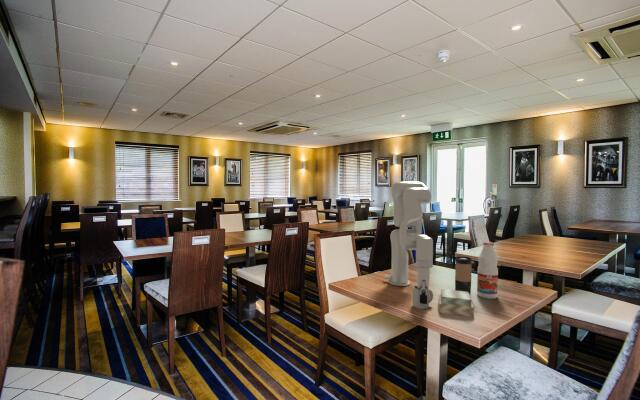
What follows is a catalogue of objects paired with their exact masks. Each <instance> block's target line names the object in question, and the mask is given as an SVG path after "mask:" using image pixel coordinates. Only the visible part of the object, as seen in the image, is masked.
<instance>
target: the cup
mask: <svg viewBox="0 0 640 400" xmlns="http://www.w3.org/2000/svg"><path fill="white" fill-rule="evenodd" d="M417 285H418V284H416V285H413V287H412V306H413V308H416V309H419V310H425V309H426V310H427V309H428V308H429V307H430V304H431V302H432V301H433V299H434V294H433V293H434V292H433V290H432V289H430V288H429V287H430V286H429V287H428V289H427V304H421V303H420V292H421V289H420V288H421V287H420V288H419V289H418V288H417ZM425 288H426V287H425ZM425 291H426V290H425ZM425 294H426V293H425Z"/></svg>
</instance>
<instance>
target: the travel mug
mask: <svg viewBox="0 0 640 400" xmlns="http://www.w3.org/2000/svg"><path fill="white" fill-rule="evenodd" d="M472 260H473V259H472V258H471V257H469V256H456V257H455V269H454V270H455V272H454V273H455V276H454V290H456V291H466V292H469V295H470V296H471V294H472V292H471V291H472V263H473V262H472Z"/></svg>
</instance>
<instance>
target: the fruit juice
mask: <svg viewBox="0 0 640 400" xmlns="http://www.w3.org/2000/svg"><path fill="white" fill-rule="evenodd" d="M494 246H495V245H494V242H492V241H483V242H482V250H481V252H480V253H479V255H478V258H477V260H478V266H477V277H476V278H477V280H476V281H477V282H476V295H477V296H478V297H480V298H484V299H489V300H492V299H497V298H498V289H499V288H498V287H499V286H498V281H499V270H498V267H497V266H498V262H499V260H498V256H497V255H496V253H495V249H494Z"/></svg>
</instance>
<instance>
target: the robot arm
mask: <svg viewBox="0 0 640 400" xmlns="http://www.w3.org/2000/svg"><path fill="white" fill-rule="evenodd" d="M390 193H391V197H392V200H393V225H394V226H395V227H398V229H394V230H392V231H391V233H390V234H389V236H390V237H389V238H390V243H391V244H390V245H391V272H390V274H383V279H387V280H388V284H390V285H392V286H399V287H407V286H410V285H411V284H412V283H411V281H410V280H409V252H408V251H415V267H417V284H416V285H417V288H418V289H419V288H420V287H421V288H420V289H421V292H420V303H421V304H427V289H428V287H430V278H431V277H430V274H431V269H432V268H434V267H433V266H434V263H433V260H434V259H433V257H434V240H433V238H432V237H430V236H428V235H427V234H422V233H423V231H422V226H423V225H422V224H423V222H422V220H423V215H424V213H423V208H422V205H425V204H426V205H427V204H430V203H431V201H432V192H431V190H430V189H429V188H428V186H426V185H425V184H424V183H423V182H421V181H397V182H394V183H392V184H391V188H390ZM407 228H411V229H407ZM425 287H426V288H425ZM425 290H426V291H425ZM425 293H426V294H425Z"/></svg>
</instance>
